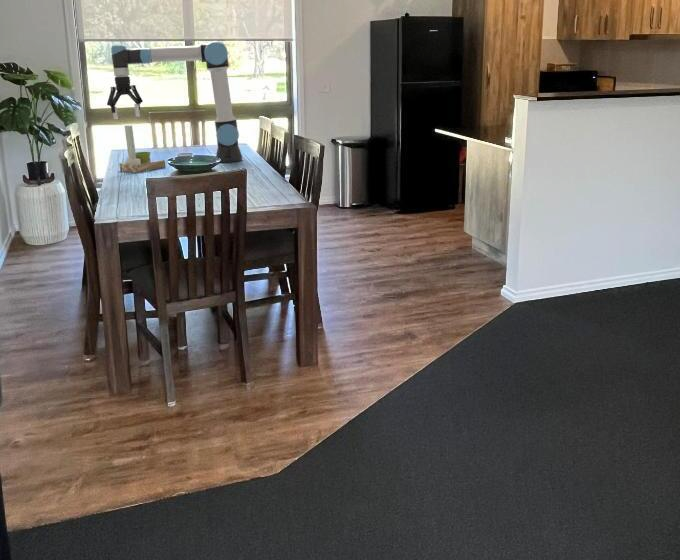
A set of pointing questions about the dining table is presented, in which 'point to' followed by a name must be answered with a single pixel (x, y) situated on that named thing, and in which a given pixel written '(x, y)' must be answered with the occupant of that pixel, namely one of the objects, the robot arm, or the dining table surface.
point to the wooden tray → (142, 166)
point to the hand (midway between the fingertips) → (127, 117)
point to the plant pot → (143, 157)
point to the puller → (131, 146)
